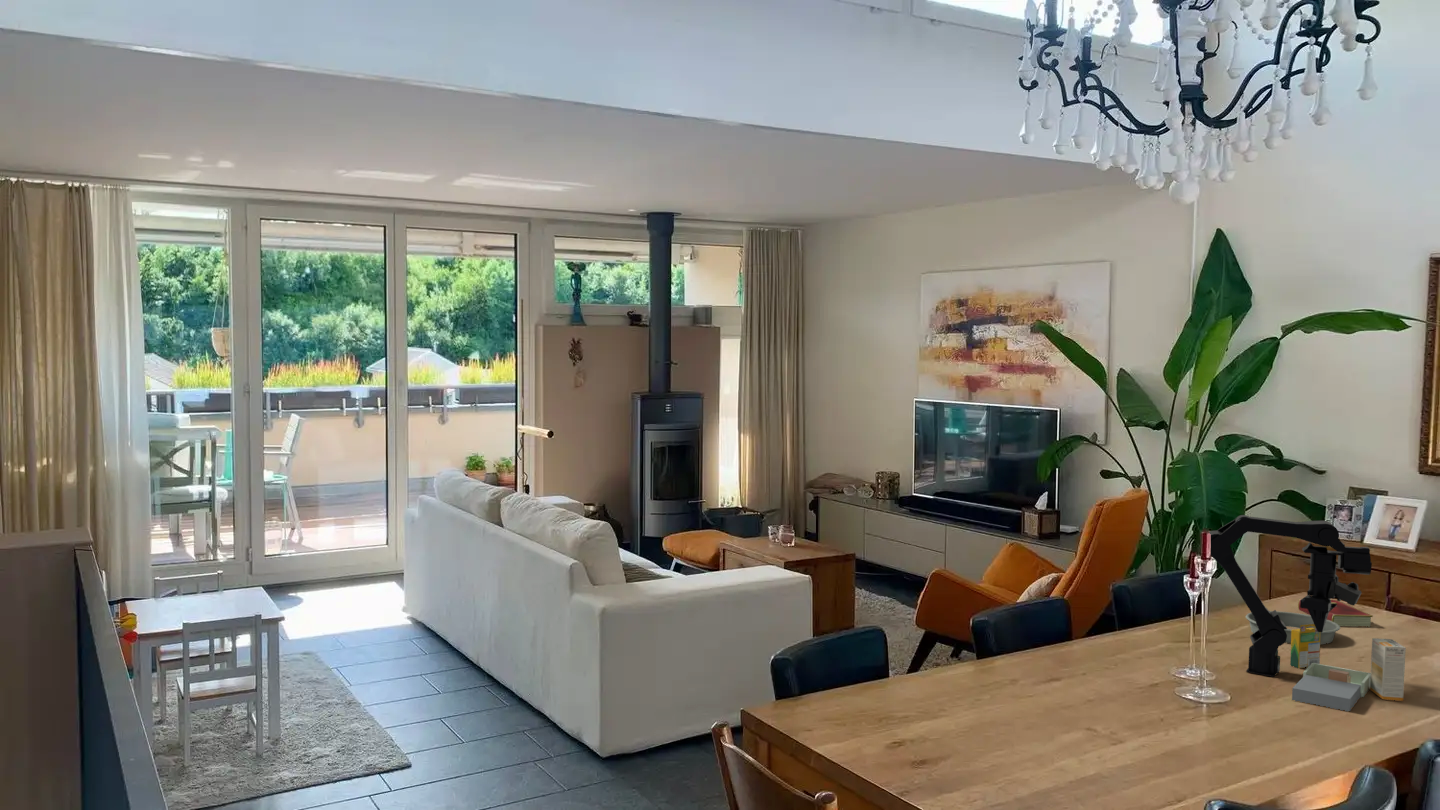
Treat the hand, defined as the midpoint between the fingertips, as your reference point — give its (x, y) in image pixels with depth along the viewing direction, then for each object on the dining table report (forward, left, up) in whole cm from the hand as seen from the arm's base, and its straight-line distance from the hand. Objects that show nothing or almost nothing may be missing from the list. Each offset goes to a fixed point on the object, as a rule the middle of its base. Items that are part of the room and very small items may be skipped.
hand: (1320, 631), depth 275 cm
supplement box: (+16, -4, -12) cm, 20 cm away
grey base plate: (+5, -17, -12) cm, 21 cm away
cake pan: (-15, +43, -12) cm, 47 cm away
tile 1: (+6, -7, -10) cm, 13 cm away
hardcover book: (-10, +75, -13) cm, 76 cm away
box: (+5, -5, -12) cm, 14 cm away
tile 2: (+5, -3, -10) cm, 12 cm away
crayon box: (-5, +10, -12) cm, 17 cm away
